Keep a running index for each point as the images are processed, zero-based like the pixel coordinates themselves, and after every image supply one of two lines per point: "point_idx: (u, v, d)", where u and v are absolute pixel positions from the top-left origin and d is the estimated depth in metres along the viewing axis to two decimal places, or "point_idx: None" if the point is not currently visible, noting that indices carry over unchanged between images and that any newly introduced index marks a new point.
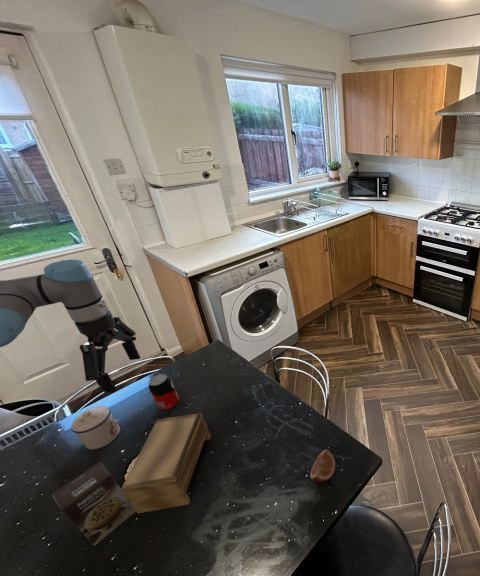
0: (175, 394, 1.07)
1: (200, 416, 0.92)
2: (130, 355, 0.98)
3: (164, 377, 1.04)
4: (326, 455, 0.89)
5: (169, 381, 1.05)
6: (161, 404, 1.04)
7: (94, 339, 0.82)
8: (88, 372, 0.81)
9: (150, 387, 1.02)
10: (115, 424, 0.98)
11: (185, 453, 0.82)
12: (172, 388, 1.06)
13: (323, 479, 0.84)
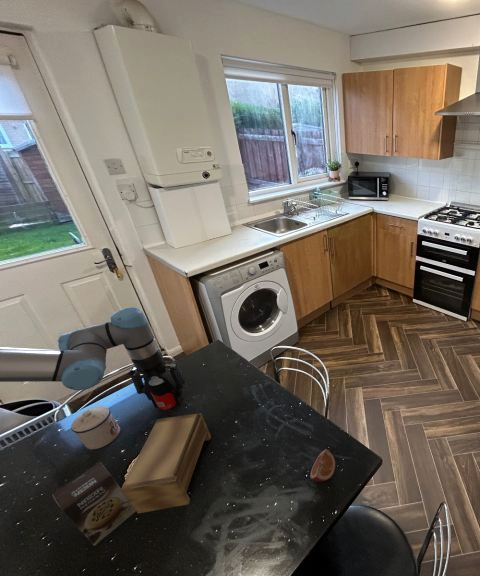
0: None
1: (200, 416, 0.92)
2: None
3: None
4: (326, 455, 0.89)
5: None
6: (161, 404, 1.04)
7: (165, 362, 1.01)
8: (181, 381, 1.05)
9: (150, 387, 1.02)
10: (115, 424, 0.98)
11: (185, 453, 0.82)
12: None
13: (323, 479, 0.84)
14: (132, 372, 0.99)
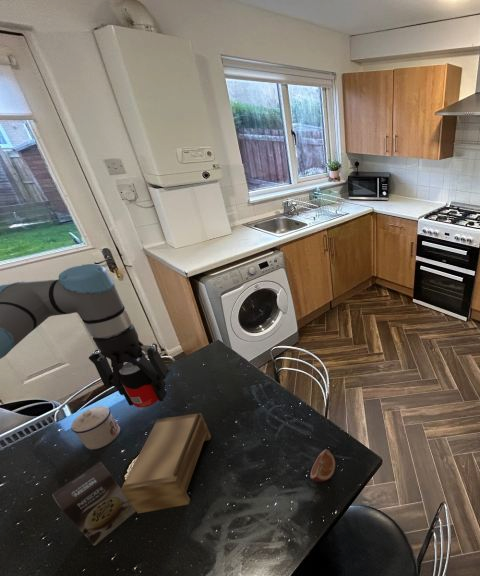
0: None
1: (200, 416, 0.92)
2: None
3: None
4: (326, 455, 0.89)
5: None
6: (137, 399, 0.78)
7: None
8: (163, 370, 0.79)
9: (121, 377, 0.75)
10: (115, 424, 0.98)
11: (185, 453, 0.82)
12: None
13: (323, 479, 0.84)
14: (95, 356, 0.73)
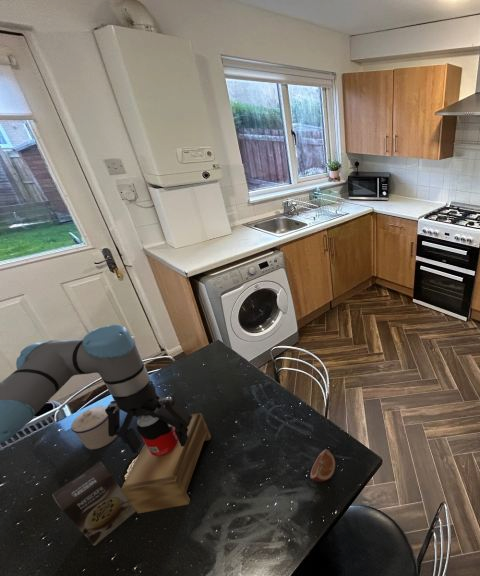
0: (173, 434, 0.82)
1: (200, 416, 0.92)
2: (135, 446, 0.80)
3: None
4: (326, 455, 0.89)
5: None
6: (154, 449, 0.79)
7: (158, 396, 0.76)
8: (185, 417, 0.79)
9: (139, 428, 0.76)
10: None
11: (185, 453, 0.82)
12: (169, 427, 0.80)
13: (323, 479, 0.84)
14: (112, 409, 0.73)
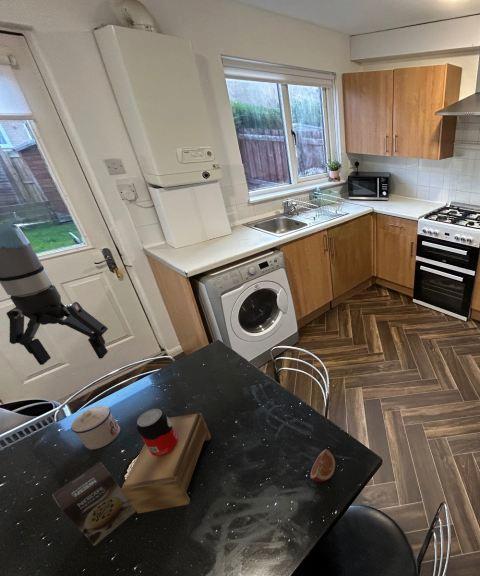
0: (173, 434, 0.82)
1: (200, 416, 0.92)
2: (42, 357, 0.81)
3: (158, 414, 0.79)
4: (326, 455, 0.89)
5: (165, 419, 0.79)
6: (154, 449, 0.79)
7: (63, 304, 0.77)
8: (97, 326, 0.80)
9: (139, 428, 0.76)
10: (115, 424, 0.98)
11: (185, 453, 0.82)
12: (169, 427, 0.80)
13: (323, 479, 0.84)
14: (14, 313, 0.74)
